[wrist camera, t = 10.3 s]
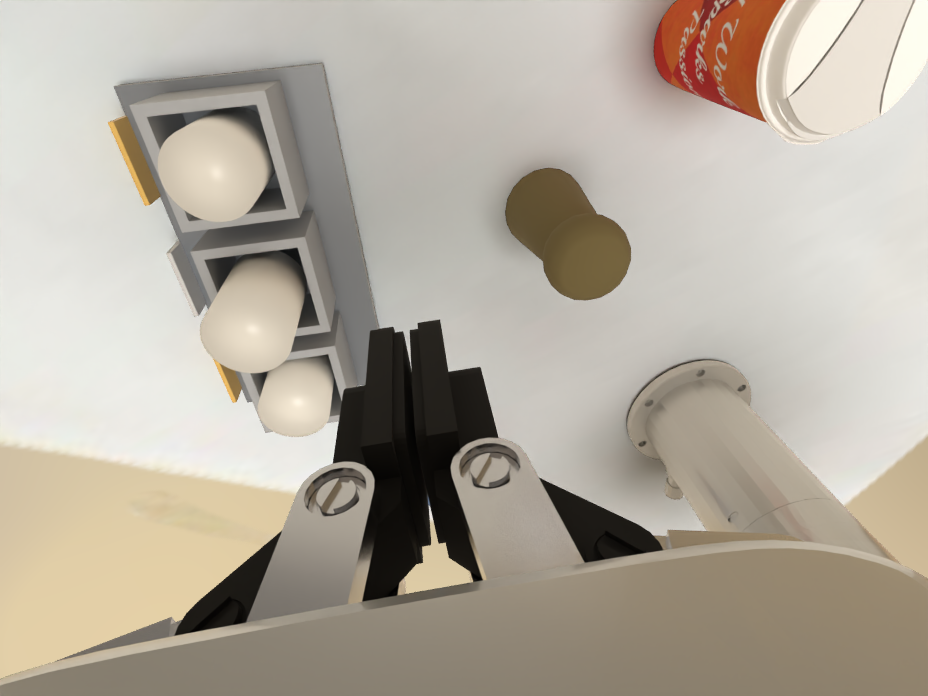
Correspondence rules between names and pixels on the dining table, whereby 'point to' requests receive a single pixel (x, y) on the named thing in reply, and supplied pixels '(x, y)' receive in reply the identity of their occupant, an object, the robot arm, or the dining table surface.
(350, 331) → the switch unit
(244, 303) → the button mid
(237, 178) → the button
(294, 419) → the button
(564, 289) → the cork
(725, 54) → the paper cup
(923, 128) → the dining table surface
